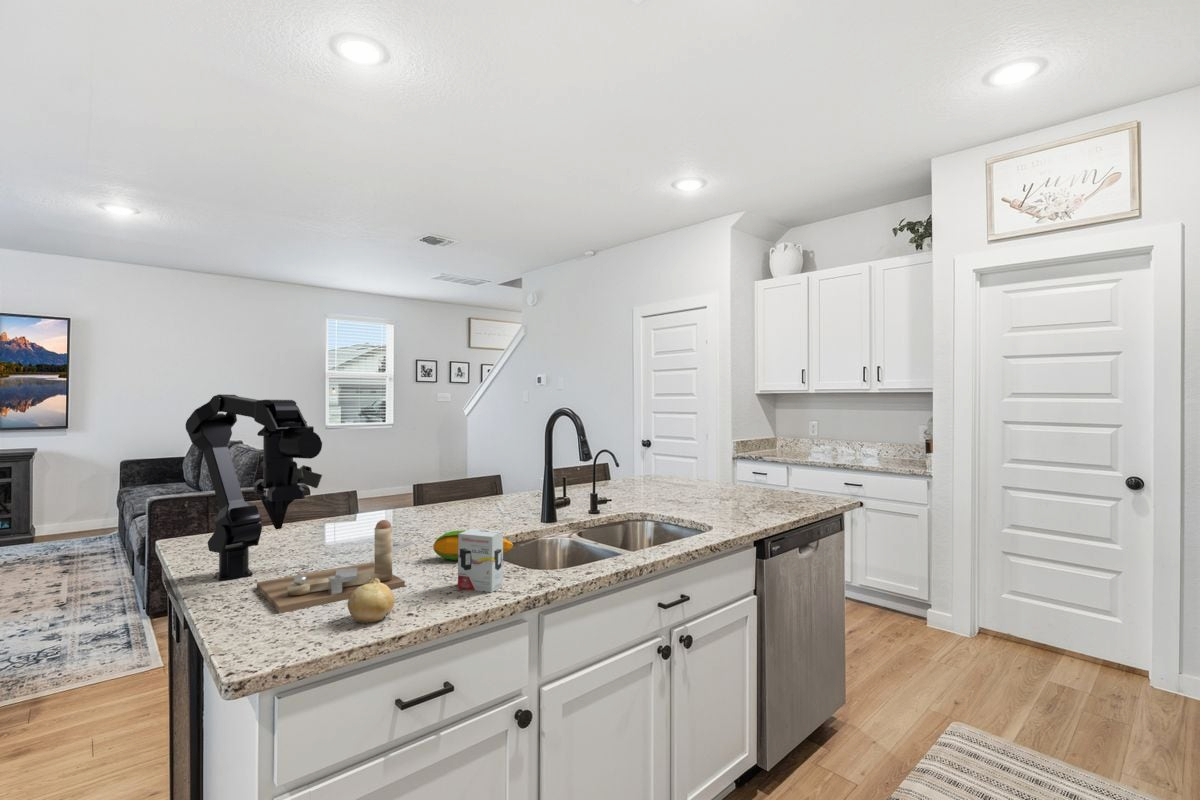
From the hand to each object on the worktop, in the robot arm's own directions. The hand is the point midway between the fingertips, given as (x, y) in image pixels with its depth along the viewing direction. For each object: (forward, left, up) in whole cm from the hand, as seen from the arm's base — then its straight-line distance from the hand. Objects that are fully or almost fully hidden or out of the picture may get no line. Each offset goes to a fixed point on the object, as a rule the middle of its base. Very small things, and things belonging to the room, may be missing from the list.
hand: (278, 528), depth 126 cm
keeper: (+17, +6, -11) cm, 21 cm away
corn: (+9, +42, -12) cm, 45 cm away
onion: (+34, +8, -12) cm, 37 cm away
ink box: (+31, +32, -12) cm, 46 cm away
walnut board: (+10, +8, -12) cm, 18 cm away
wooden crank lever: (+15, +9, -10) cm, 20 cm away
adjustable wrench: (-9, +27, -13) cm, 31 cm away
